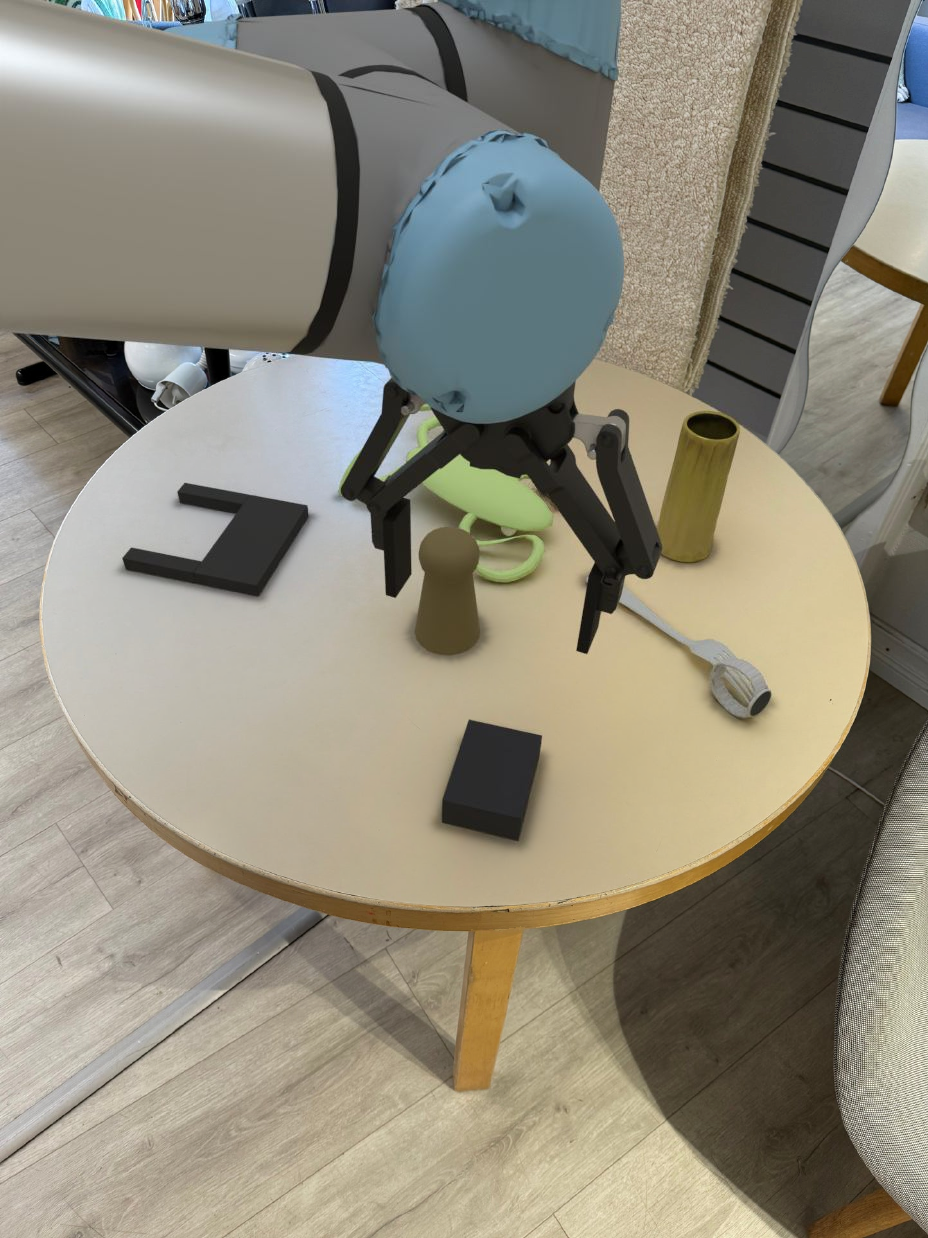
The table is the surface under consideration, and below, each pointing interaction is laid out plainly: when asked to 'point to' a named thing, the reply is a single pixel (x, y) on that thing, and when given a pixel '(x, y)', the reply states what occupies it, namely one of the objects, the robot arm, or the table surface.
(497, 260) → the robot arm
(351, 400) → the table surface
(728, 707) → the ring
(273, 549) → the black pad
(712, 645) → the fork
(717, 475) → the vase
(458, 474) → the figurine
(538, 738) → the charcoal pad
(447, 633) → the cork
